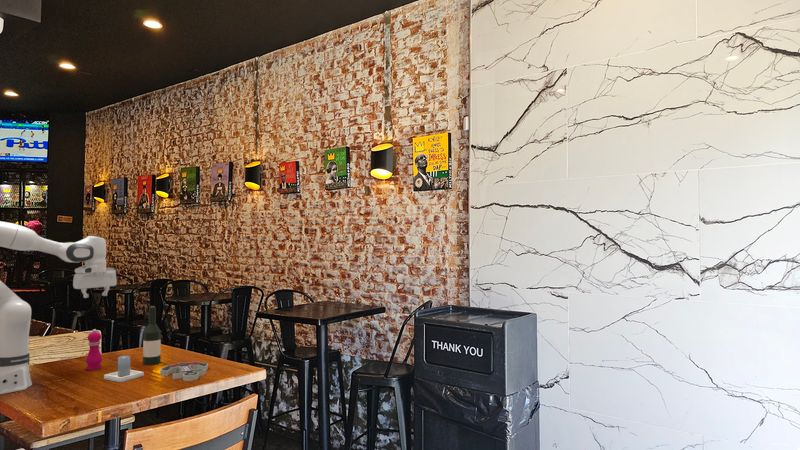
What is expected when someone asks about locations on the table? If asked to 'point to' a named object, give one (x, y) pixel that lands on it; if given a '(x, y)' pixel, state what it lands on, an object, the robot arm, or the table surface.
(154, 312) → the wine bottle
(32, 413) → the table surface
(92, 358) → the pepper mill
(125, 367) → the grey cylinder
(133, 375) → the serving tray
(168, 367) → the decorative sign
